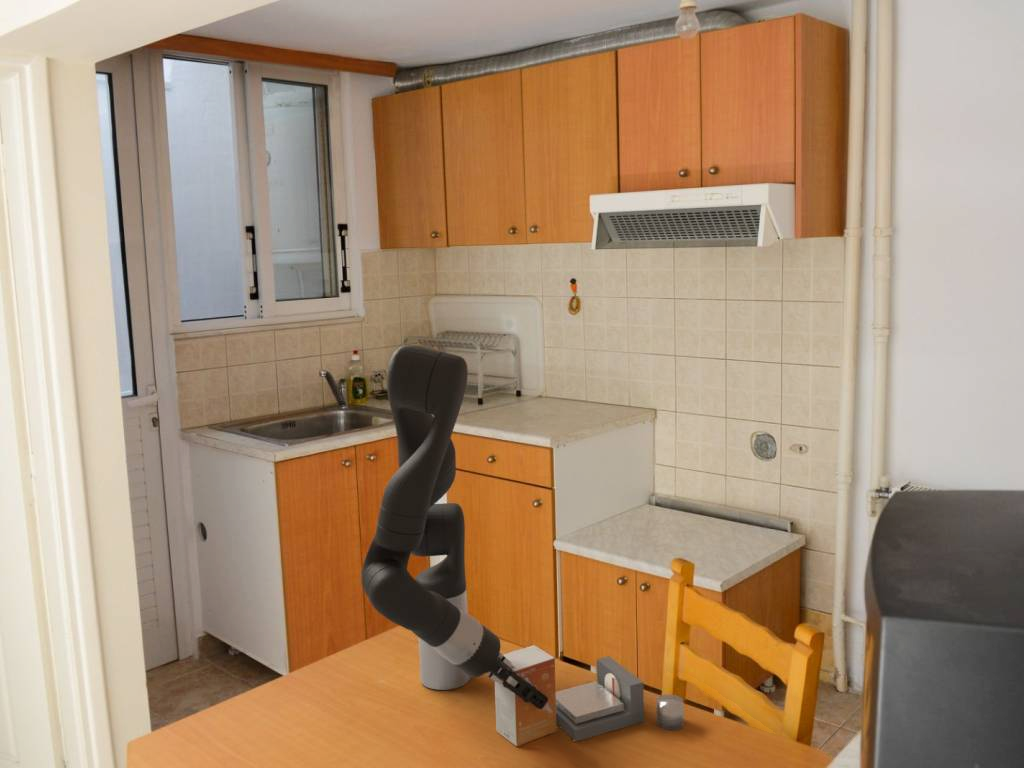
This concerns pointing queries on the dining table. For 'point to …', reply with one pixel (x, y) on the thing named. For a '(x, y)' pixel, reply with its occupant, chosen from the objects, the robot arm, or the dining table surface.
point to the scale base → (622, 688)
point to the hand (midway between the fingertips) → (533, 693)
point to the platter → (587, 702)
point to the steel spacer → (670, 712)
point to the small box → (525, 718)
